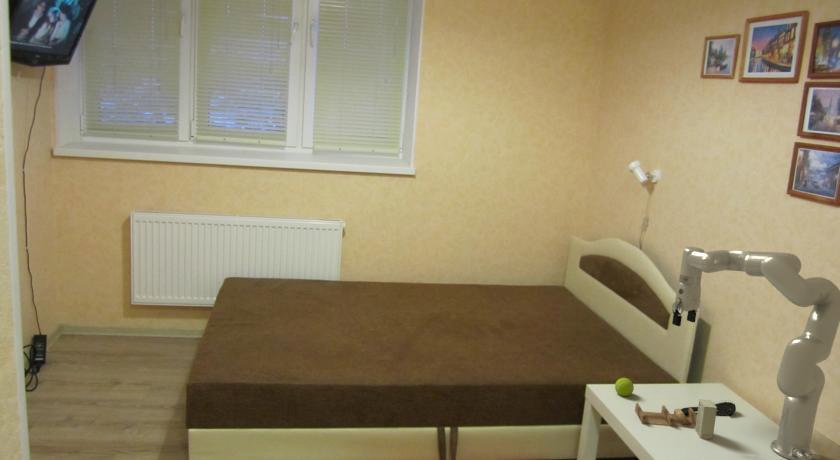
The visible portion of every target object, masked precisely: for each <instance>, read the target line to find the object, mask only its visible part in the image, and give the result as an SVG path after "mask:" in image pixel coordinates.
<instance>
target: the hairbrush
mask: <svg viewBox="0 0 840 460" xmlns="http://www.w3.org/2000/svg"><path fill="white" fill-rule="evenodd" d="M721 401H722V402H721ZM721 401H719V402H717V403H714V404H715V406H716V407H717V411H716V417H731V416H733V414H734V413H735V412H736V410H737V408H736V407H737V406H736V404H735V403H734V401H732V400H731V401H727V400H725V401H723V400H721ZM689 408H692V410H693V411H694V412H695V413H696V412H698V406H689V407H688V406H687V407H682V408H680V409H681V410H682V412H683V413H684V414H685V415H688V414H689V412H688V411H689Z"/></svg>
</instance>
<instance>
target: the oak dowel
mask: <svg viewBox="0 0 840 460" xmlns="http://www.w3.org/2000/svg"><path fill="white" fill-rule="evenodd" d="M681 409H682V408H675V409H674V410H673V414H674V415H675V416H676V418H677V419H678V421H679V422H680V424H681V425H687V424H688V422H689V421H688V419H687V417H686V416H685V414H684V413H683V412H682V410H681Z"/></svg>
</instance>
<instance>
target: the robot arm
mask: <svg viewBox="0 0 840 460" xmlns="http://www.w3.org/2000/svg"><path fill="white" fill-rule="evenodd" d="M681 257H682V258H681V264H680V271H679V278H678V285H677V290H676V293H675V294H676V295H675V299H674V302H673V303H672V305H671V309H672V322H671V324H672V325H673V326H676V327H681V325H682V318H683V316H682V314H683V313H684V312H687V315H686V320H687V322H691V323H696V318H697V313H698V310H699V308H700V304H701V296H702V295H701V291H702V287H701V282H702V276H703V273H707V274H711V273H712V274H713V273H717V272H723V271H729V272H730V271H731V272H733V271H735V272H744V273H746V274H747V276H749V277H760V278H761V277H762V278H763V277H764V278H765V279H766V281H768V282H769V283H770V284H771V285H772V286H773V287H774V288H775V289H776V290H777V291H778V292H779V293H780V294H782V296H784V298H786V299H787V300H788V301H789V302H790V303H792V304H793V305H795V306H797V307H802V308H809V307H811V306H812V307H813V308H812V310H811V312H810V314H809V315H808V318H807V321H806V325H805V328H804V330H803V332H802V334H801V335H799V336H796V337H794V338H792V339H791V340H790V341H789V342H788V344H787V345H786V346H785V349H784V352H783V354H782V359H781V362H780V365H779V367H778V370H777V371H778V372H777V375H776V385H777V387H778V389H779V391H780V392H781V393H782V394H783V395H784V396H785V397H784V401H783V405H782V410H781V418H780V421H779V428H778V433H777V438H776V439H775V440H772V441H771V442H770V448H771V449H772V451H773V452H774V453H776V454H777V455H779V456H780V457H782V458H785V459H788V460H813V459H814V456H815V455H814V452H813V451H812V450H811V447H810V446H811V441H812V436H813V432H814V425H815V421H816V415H817V411H818V407H819V402H820V399H821V396H822V393H823V391H824V390H823V389H824V387H825V382H826V379H825V378H826V377H825V373H824V371H823V369H822V368H821V367H820V366H819V365H818V364H820V363H823V362H824V361H826V360H827V359H828V358H829V357H830V355H831V352H832V349H833V344H834V342H835V338H836V335H837V331H838V328H839V326H840V289H839V287H838V285H836V284H835V283H834V282H833V281H831V280H830V279H827V278H826V277H821V276H813V277H808V278H804V277H803V276H801V275H800V274H799V273H800V272H801V270H802V262H801V260H800V258H799V257H798V256H797V255H795V254H794V253H790V252H770V251H769V252H768V251H749V250H748V251H746V250H730V249H729V250H728V249H727V250H724V249H723V250H713V251H705V250H704V249H702V248H701V247H696V246H686V247H685V248H684V249H683V252H682V256H681Z"/></svg>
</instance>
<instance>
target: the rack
mask: <svg viewBox="0 0 840 460" xmlns="http://www.w3.org/2000/svg"><path fill="white" fill-rule="evenodd" d="M634 408H635V409H634V412H635V414H636V415H637V417H638V419H639V421H640V422H641V424H643V425H653V426H661V427H662V426H664V427H665V426H666V427H674V428H683V429H684V428H685V429H686V428H687V429H695V428H696V420H697V413H696V412H694V411H693V410H692V408H689V411H688V412H689V414H688V415H685V416H686V417H687V419H688V421H689V422H688V424H687V425H681V424H680V422H679V421H678V419H677V418H676V416H675V415H674V413H670V411H669V410H668V409H667V407H666V406H665V405H661V412H656V411H655V412H654V411H644V410H643V409H642V408H641V406H640V404H639V403H638V402H636V403H635V407H634Z"/></svg>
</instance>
